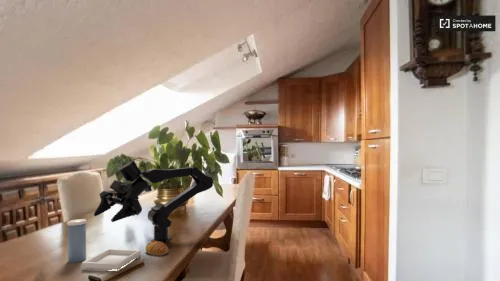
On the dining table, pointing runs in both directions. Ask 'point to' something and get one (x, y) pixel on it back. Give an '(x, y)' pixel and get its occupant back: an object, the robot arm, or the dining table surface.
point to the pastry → (156, 248)
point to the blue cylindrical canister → (76, 240)
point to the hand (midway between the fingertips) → (102, 218)
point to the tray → (110, 259)
